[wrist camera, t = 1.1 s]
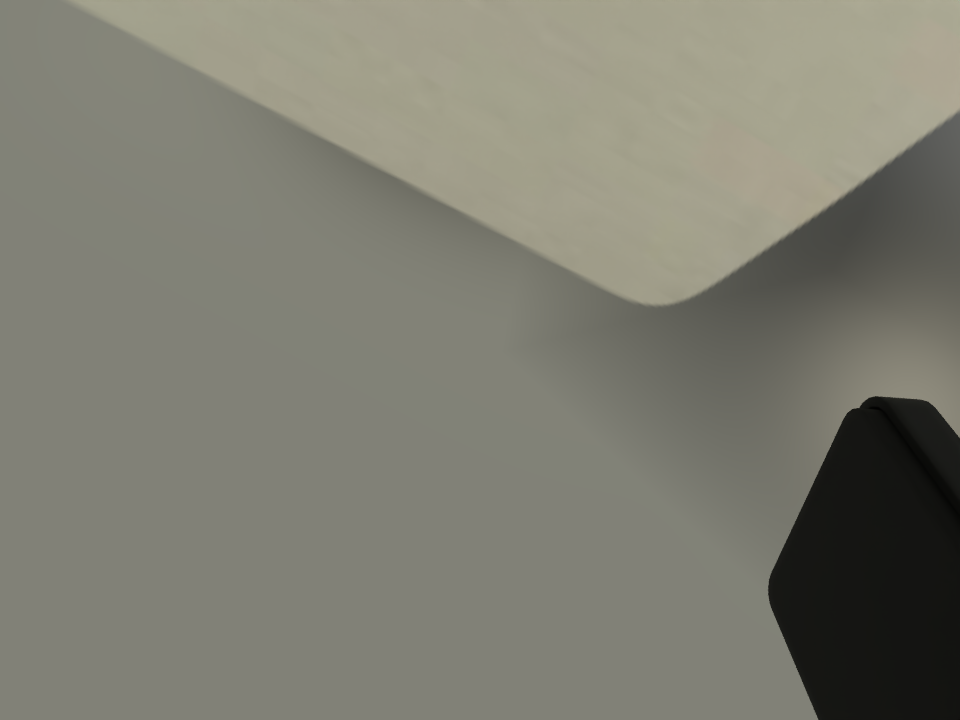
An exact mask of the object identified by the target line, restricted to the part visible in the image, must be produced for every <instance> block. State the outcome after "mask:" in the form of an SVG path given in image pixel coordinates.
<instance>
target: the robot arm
mask: <svg viewBox="0 0 960 720" xmlns="http://www.w3.org/2000/svg"><path fill="white" fill-rule="evenodd" d="M768 592H769V593H768V595H769V601H770V605H771V608H772V611H773V613H774V616H775V618H776V620H777V623H778V625H779V627H780V630H781V632H782V634H783V637H784V639H785V642H786V644H787V646H788V649H789V651H790V653H791V656H792V658H793V661H794V663H795V665H796V668H797V670H798V672H799V675H800V677H801V679H802V682H803V684H804V687H805V689H806V691H807V694H808V696H809V698H810V701H811V703H812V705H813V707H814V710H815V712H816V715H817V717H818V720H960V438H959V437H958V435H957V434H956V433H955V432H954V430H953V429H952V428H951V427H950V425H949V424H948V423H947V422H946V421H945V419H944V418H943V417H942V416H941V414H940V413H939V412H938V411H937V409H936V408H935V407H934V406H933V405H931V404H930V403H929V402H927V401H924V400H917V399H905V398H891V397H878V396H875V397H871V398H868V399H867V400H866V401H865V402H863V403H862V405H861V406H860V408H856V409H852V410H851V411H849V412H848V413H847V414H846V416H845V418H844V419H843V421H842V424H841V426H840V428H839V430H838V432H837V434H836V436H835V439H834V441H833V443H832V445H831V447H830V449H829V451H828V453H827V455H826V458H825V460H824V462H823V464H822V466H821V468H820V470H819V472H818V475H817V477H816V479H815V481H814V483H813V485H812V487H811V490H810V492H809V494H808V496H807V498H806V500H805V502H804V504H803V507H802V509H801V511H800V513H799V515H798V517H797V519H796V521H795V524H794V526H793V528H792V530H791V532H790V534H789V536H788V539H787V541H786V543H785V545H784V547H783V549H782V551H781V553H780V556H779V558H778V560H777V562H776V564H775V566H774V569H773V570H772V573H771V576H770V579H769V586H768Z"/></svg>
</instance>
